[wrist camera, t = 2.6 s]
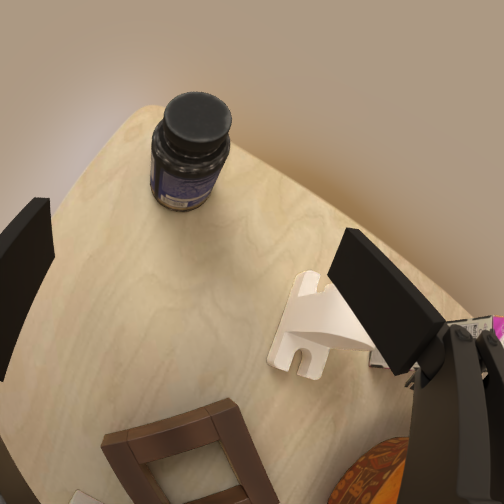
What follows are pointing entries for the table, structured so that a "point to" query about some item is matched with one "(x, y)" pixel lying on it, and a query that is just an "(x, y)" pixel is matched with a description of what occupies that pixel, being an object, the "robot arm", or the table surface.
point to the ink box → (83, 499)
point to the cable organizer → (315, 327)
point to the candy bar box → (474, 326)
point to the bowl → (374, 475)
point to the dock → (183, 439)
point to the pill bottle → (189, 150)
